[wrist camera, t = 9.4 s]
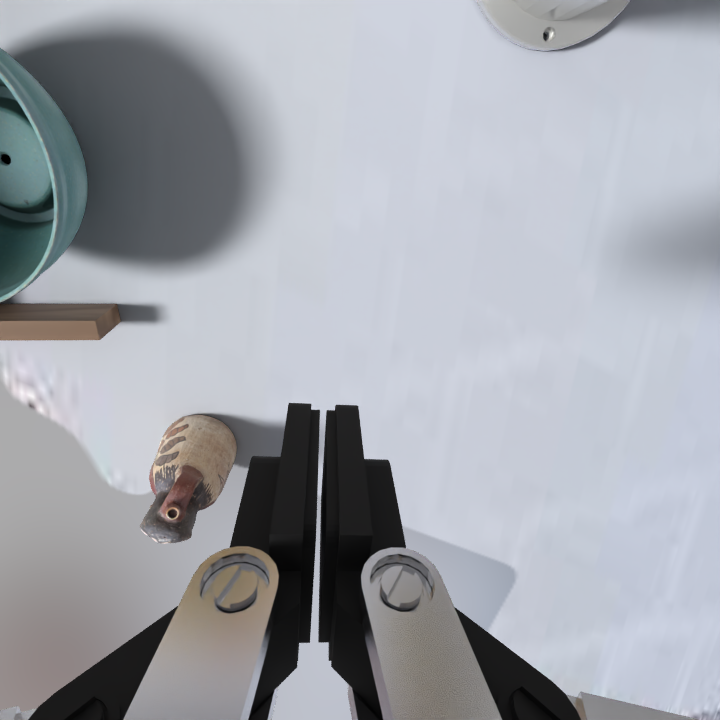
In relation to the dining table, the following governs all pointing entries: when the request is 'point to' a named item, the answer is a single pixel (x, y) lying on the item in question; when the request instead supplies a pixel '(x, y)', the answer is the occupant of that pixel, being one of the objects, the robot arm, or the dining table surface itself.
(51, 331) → the walnut bay
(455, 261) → the dining table surface
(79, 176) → the flower pot
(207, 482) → the figurine
